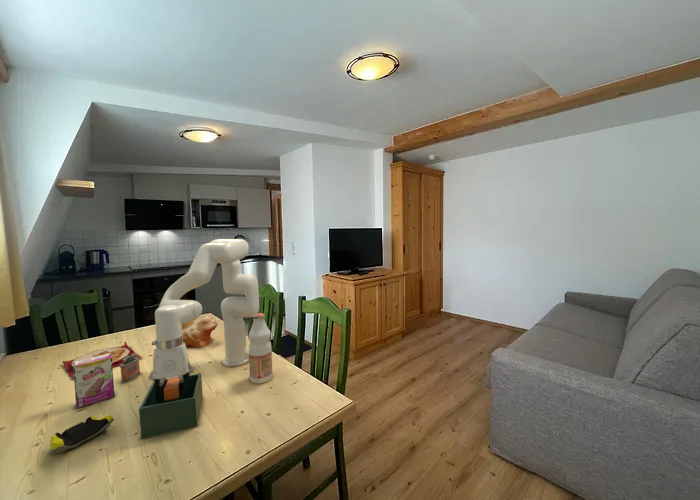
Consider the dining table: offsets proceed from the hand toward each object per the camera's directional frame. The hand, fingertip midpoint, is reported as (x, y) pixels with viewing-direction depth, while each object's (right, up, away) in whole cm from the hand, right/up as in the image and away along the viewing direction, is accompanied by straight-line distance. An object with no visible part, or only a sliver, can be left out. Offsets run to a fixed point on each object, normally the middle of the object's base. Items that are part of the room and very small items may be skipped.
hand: (173, 393), depth 103 cm
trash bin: (0, -8, +1) cm, 8 cm away
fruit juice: (+23, -6, +25) cm, 35 cm away
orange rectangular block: (0, 0, 0) cm, 0 cm away
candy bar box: (-36, -8, +11) cm, 38 cm away
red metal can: (-35, -7, +27) cm, 44 cm away
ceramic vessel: (-26, -3, +64) cm, 70 cm away
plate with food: (-60, -6, +43) cm, 74 cm away
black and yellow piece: (-22, -10, -11) cm, 27 cm away
